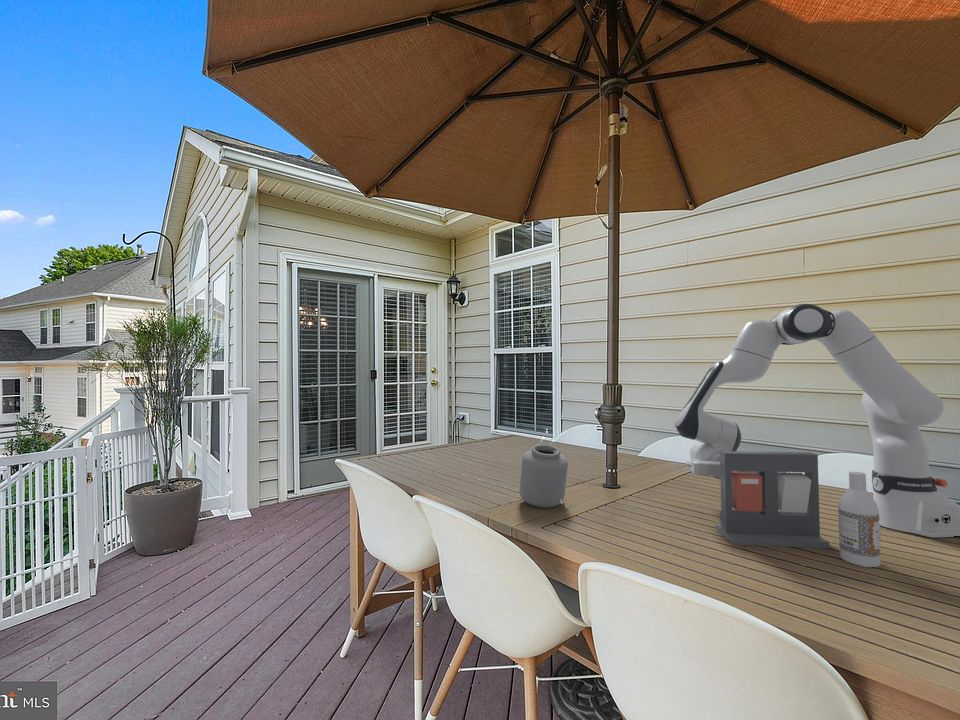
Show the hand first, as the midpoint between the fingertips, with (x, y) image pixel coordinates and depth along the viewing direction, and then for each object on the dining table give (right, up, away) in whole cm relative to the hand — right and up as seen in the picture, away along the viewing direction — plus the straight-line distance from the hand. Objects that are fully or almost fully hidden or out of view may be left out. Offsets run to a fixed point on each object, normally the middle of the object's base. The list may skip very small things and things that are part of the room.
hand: (741, 474), depth 114 cm
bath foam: (+17, -16, -17) cm, 28 cm away
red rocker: (0, -8, -2) cm, 9 cm away
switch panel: (+5, -16, -3) cm, 17 cm away
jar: (-48, -17, +26) cm, 58 cm away
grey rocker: (+11, -8, -2) cm, 14 cm away
